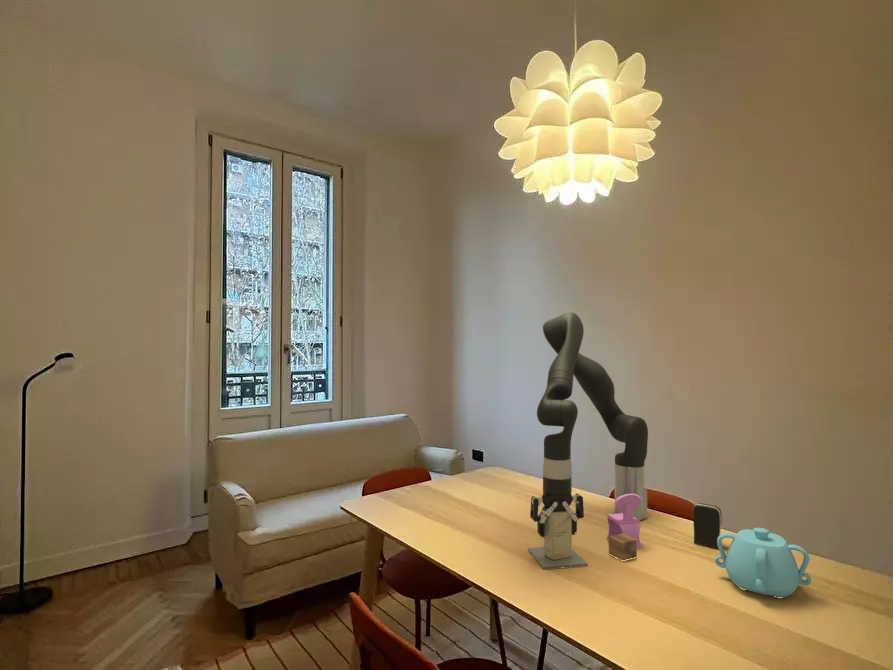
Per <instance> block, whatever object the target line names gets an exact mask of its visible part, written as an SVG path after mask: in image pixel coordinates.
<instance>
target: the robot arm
mask: <svg viewBox="0 0 893 670" xmlns="http://www.w3.org/2000/svg"><path fill="white" fill-rule="evenodd" d="M542 332H543V335H544V337H545V340H546V342H548V344H549V345H550V347H551V348H552V349H553V350H554V353H555V352H556V354H557V355H556V356H555V358H554V359H553V360H552V363H551V365H550V367H549V370H548V373H547V382H546V383H547V384H546V388H545V392H544V393H543V395H542V397H541V400H540V401H539V402H538V403H539V404H538V406H537V410H536V416H537V417H536V418H537V420H538V422H539V424H541V425H543V426H548V427H563V429H562V431H560V432H557V433H551V434H548V435H546V436H545V437H544V439H543V463H542V495H541V497H537V496H534V495H533V496H531V499H530V511H529V513H530V514H529V516H530V519H532V520H533V522H534V523H535V522H536V523H537V524H536V526H537V532H536V533H537V534H538V535H539V536H540V537H541V538H544V537H545V523H544V521H545V520H546V518H547V517H549V516H550V514H551V513H552V512H563V511H567V512H568V513H569V514H570V516H571V517H572V536H574V535H576V533H577V531H578V520H580V519H584V517H585V513H584V512H585V511H584V510H585V509H584V497H583V496H582V495H581V494H579V493H575V494H574V495H572V487H573V486H572V485H573V484H572V479H573V477H572V476H573V475H572V474H573V471H572V469H573V468H572V460H571V457H572V456H571V454H572V453H571V451H572V449H571V447H572V446H571V445H572V436H573V431H574V429H575V428H574V427H575V425H576V422H577V419H578V415H579V413H578V412H579V410H578V406H577V404H576V403H575V402H574V401H572V400H570V399H569V398H570V397H571V396H572V393H573V386H574V385H573V384H574V378H575V379H576V381H577V382H578V384H579V386H580V387H581V388H582V390H583V391H584V393H585V394H586V396H587V397H588V399H589V400H590V401H591V403H592V405H593V406H594V407H595V409H596V410H597V413H599V415H600V417H601V419H602V420H603V421H602V422H604V424H605V426H606V428H607V430H608V432H609V433H610V435H611V436H612V438H613V439H615V440H616V441H618V442H620V443H625V444H624V451H623V452H619V453H616V454H615V456H614V501H615V500H616V499H617V498H618V497H620V496H622V495H625V494H636V495H638V496H639V497H640V498H641V504H640V506H638V507H637V508H636V509H635V510H634V517H635V518H637V519H639V520H640V521H643V520H645V519H646V520H647V519H648V490H647V488H646V487H645V461H646V458H647V454H648V442H649V440H648V438H649V429H648V425H647V422H646V421H645V419H644V418H642V417H639V416H635V415H630V414H629V415H628V414H626V413H625V412H623V410H622V409H621V408H620V407H619V405H618V403H617V402H616V399H615V385H614V382H613V380H612V378H611V377H610V375H609V374H608V372H607V371H606V368H604V366H603V365H601V364H600V363H599V362H597V361H595V360H593V359H592V358H590V357H587V356H585V355H583V354H581V353H580V349H581V346H582V341H583V340H584V339H583V337H584V332H585V331H584V325H583V322H582V320H581V318H580V317H579V315H578V314H577V313H575V312H571V311H570V312H567V313H564V314H561V315H559V316H556V317H554V318H551V319H549V320H547V321H545V322H544V324H543V325H542ZM541 503H542V504H543V506H542V507H541V509H540V512H539V507H540V505H541ZM572 503H574V504H575V512H574V511H573V509H572V508H571V504H572ZM546 509H547V511H545V510H546ZM620 513H622V512H621V511H619V510H617V508H616V506H615V505H614V514H620Z"/></svg>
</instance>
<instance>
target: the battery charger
mask: <svg viewBox="0 0 893 670" xmlns="http://www.w3.org/2000/svg"><path fill="white" fill-rule="evenodd" d="M722 514H723V513H722V509H721V508H720V507H718V506H716V505H713V504H707V503H701V502H700V503H697V504H696V505H695V506H694V507H693V543H694V544H696V545H699V546H703V547H707V548H711V549H712V548H713V549H717V550H719V549H718V545H717V538H718V537H719V535H721V529H722V527H721V526H722V524H723V523H722V522H723V519H722V516H723V515H722Z"/></svg>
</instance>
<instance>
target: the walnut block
mask: <svg viewBox="0 0 893 670" xmlns="http://www.w3.org/2000/svg"><path fill="white" fill-rule="evenodd" d="M637 551H638V549H637V540H636V539H634V538H631V537H629V536H627V535H625V534H623V533H622V534H618V535H613V536H609V540H608V555H609V554H611V555H613V556H615V557H617V558H619V559H621V560H626V559H630V558H634V557H637V555H638V554H637ZM611 555H610V556H611ZM613 556H612V557H613ZM615 557H614V558H615Z"/></svg>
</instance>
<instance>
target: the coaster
mask: <svg viewBox="0 0 893 670" xmlns="http://www.w3.org/2000/svg"><path fill="white" fill-rule="evenodd" d="M527 552H528V553H529V554H530V555H531V556H532V557H533V559H534V560H535V561H536V563H538V565H539V566H540V567H541V568H542V569H543V570H552V568H555V569H562V568H561V567H568V568H571V567H570V566H581V567H584V566H583V565H588V562H587V561H586V560H585V559H583V557H581V555H580V554H578V553H577V551H575V550H574V549H573V548H572V547H571V557H566V558H561V559H556V560H553V559H551V558H549V557H548V556H546V555H545V554H544V546H536V547H527ZM588 566H589V565H588Z"/></svg>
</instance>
